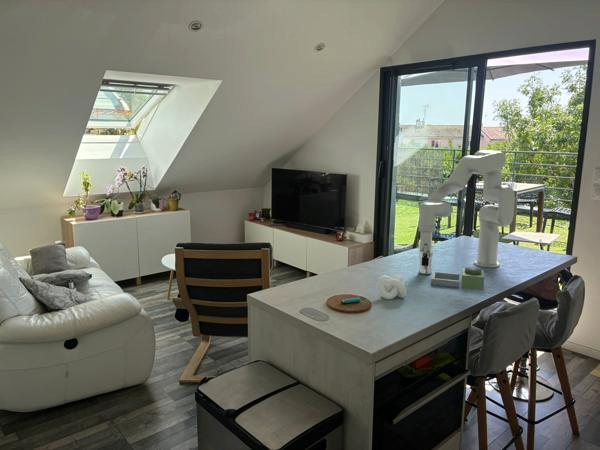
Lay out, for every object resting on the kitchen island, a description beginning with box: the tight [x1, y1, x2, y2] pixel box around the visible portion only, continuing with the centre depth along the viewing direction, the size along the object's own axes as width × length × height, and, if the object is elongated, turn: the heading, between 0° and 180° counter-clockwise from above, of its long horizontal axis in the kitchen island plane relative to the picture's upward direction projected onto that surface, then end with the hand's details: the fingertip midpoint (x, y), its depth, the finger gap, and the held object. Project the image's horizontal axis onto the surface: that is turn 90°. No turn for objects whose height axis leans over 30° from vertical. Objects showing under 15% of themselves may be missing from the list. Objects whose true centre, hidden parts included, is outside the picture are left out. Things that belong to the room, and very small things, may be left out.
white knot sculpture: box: [377, 274, 408, 300], centre depth 196 cm, size 11×12×9 cm
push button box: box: [431, 266, 485, 291], centre depth 214 cm, size 12×22×8 cm, turn 71°
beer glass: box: [418, 242, 434, 275], centre depth 229 cm, size 7×7×15 cm
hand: (425, 263), depth 229 cm, fingers closed on beer glass, 6 cm apart
